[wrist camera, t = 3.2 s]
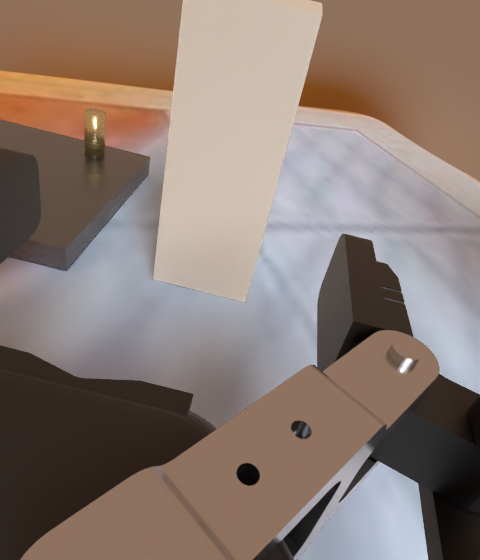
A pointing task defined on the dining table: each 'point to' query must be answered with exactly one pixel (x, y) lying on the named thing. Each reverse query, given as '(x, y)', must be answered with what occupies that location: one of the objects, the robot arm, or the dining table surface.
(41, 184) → the chassis plate
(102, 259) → the dining table surface
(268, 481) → the robot arm
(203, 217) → the cream block
